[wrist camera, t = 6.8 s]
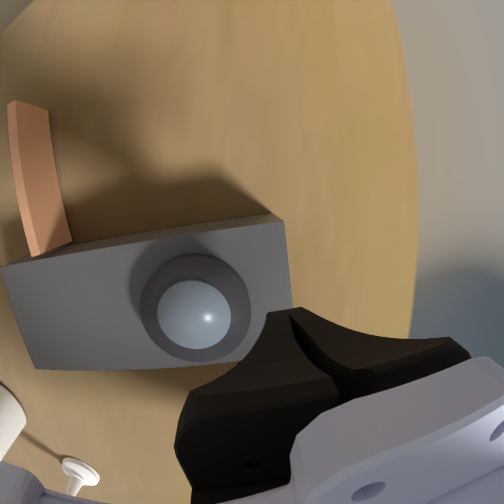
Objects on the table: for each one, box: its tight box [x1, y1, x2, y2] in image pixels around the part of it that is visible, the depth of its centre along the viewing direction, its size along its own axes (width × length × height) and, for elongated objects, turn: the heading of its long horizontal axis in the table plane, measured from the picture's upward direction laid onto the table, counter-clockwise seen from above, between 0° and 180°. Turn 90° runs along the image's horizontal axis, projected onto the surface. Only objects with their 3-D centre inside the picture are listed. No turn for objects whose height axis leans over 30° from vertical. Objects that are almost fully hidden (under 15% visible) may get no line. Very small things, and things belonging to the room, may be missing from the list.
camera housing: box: [1, 213, 293, 371], centre depth 17 cm, size 8×18×6 cm, turn 97°
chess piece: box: [62, 458, 100, 497], centre depth 20 cm, size 5×5×10 cm
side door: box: [7, 100, 72, 257], centre depth 16 cm, size 1×10×4 cm, turn 12°
